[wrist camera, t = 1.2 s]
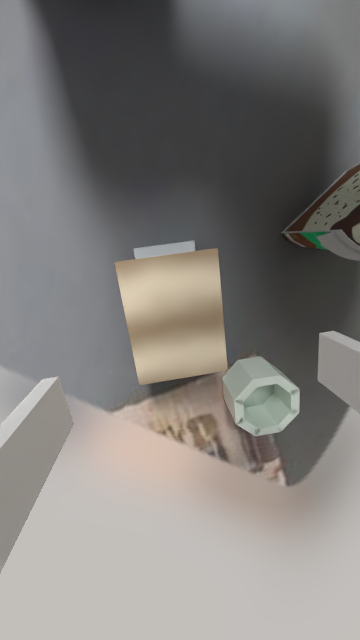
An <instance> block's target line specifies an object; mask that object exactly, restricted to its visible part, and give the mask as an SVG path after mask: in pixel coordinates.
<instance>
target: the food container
mask: <svg viewBox="0 0 360 640" xmlns="http://www.w3.org/2000/svg"><path fill="white" fill-rule="evenodd" d="M281 234H282V235H283V236H284V237H285V238H286V239H287V240H288V241H289V242H291V243H293V244H295V245H297V246H300V247H307V248H316V249H327V250H330V251H331V252H332V253H334V254H336V255H338V256H340V257H343V258H346V259H350V260H358V261H360V163H359V164H357V165H355V166H353V167H351V168H349V169H347V170H346V171H345V172H344V173H343V174H342V175H341V176H339V177H338V178H337V179H336V180H335V181H334V182H333V183H332V184H331V185H330V186H329V187H328V188H327V189H326V190H325V191H324V192H323V193H322V194H321V195H320V196H319V197H318V198H317V199H316V200H315V201H314V202H313V203H312V204H310V205H309V206H308V207H307V208H306V209H305V210H304V211H303V212H302V213H301V214H300V215H299V216H298V217H297V218H296V219H295V220H294V221H293V222H292V223H291V224H290V225H289V226H288V227H287V228H286V229H285V230H284V231H283V232H282V233H281Z"/></svg>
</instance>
